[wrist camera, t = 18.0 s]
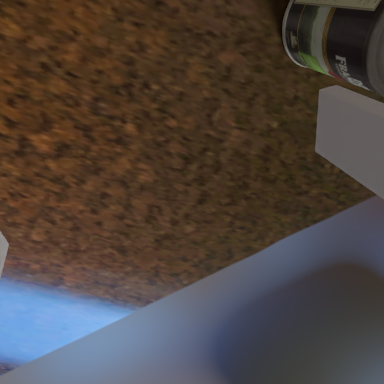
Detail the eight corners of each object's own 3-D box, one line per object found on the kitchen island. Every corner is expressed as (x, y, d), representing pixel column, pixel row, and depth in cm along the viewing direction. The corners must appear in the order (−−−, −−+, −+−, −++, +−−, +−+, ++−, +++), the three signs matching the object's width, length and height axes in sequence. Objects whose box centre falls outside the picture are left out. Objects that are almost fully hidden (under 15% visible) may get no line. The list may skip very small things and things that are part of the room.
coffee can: (322, 81, 43) (410, 116, 32) (265, 43, 38) (345, 68, 27) (373, 2, 40) (493, 9, 28) (317, -51, 35) (435, -68, 23)
